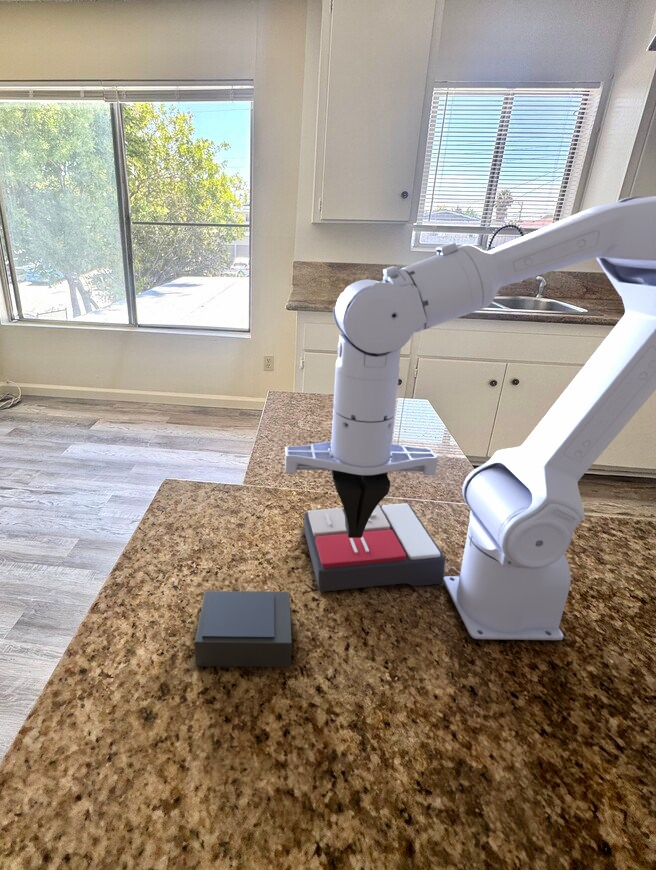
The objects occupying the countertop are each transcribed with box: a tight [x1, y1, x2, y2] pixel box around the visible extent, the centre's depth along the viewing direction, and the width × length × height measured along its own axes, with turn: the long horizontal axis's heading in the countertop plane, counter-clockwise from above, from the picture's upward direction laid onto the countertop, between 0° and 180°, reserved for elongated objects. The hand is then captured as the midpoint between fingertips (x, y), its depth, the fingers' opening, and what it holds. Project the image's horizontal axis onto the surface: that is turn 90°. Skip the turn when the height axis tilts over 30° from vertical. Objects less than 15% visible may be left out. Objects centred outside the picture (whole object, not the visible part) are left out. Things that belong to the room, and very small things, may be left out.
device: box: [194, 590, 293, 668], centre depth 42 cm, size 3×6×9 cm
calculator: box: [303, 502, 446, 593], centre depth 53 cm, size 11×4×15 cm
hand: (353, 531), depth 43 cm, fingers closed
